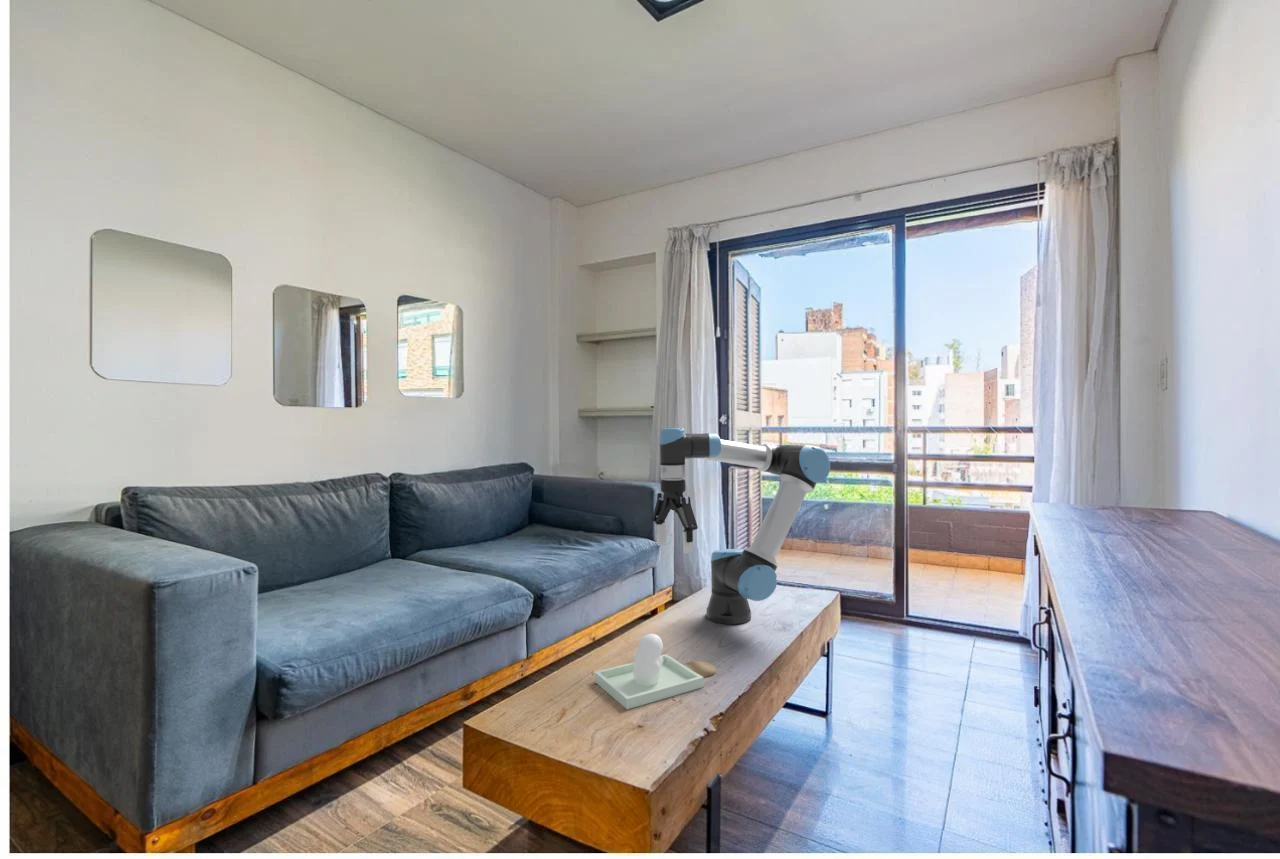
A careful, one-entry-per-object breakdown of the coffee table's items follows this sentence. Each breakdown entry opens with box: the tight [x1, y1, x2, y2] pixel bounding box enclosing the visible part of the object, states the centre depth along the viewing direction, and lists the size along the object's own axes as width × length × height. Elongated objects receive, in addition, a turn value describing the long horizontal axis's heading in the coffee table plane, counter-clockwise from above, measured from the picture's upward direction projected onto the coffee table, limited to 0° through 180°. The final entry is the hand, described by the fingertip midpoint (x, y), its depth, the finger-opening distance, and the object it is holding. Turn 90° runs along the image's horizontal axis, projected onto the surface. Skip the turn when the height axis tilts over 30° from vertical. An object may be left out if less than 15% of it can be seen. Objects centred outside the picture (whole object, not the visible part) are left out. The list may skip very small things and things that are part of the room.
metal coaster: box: [683, 660, 717, 678], centre depth 152 cm, size 9×9×1 cm
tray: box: [594, 653, 705, 710], centre depth 144 cm, size 22×17×2 cm
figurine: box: [632, 633, 664, 687], centre depth 144 cm, size 7×8×12 cm
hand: (674, 549), depth 172 cm, fingers open, 13 cm apart
